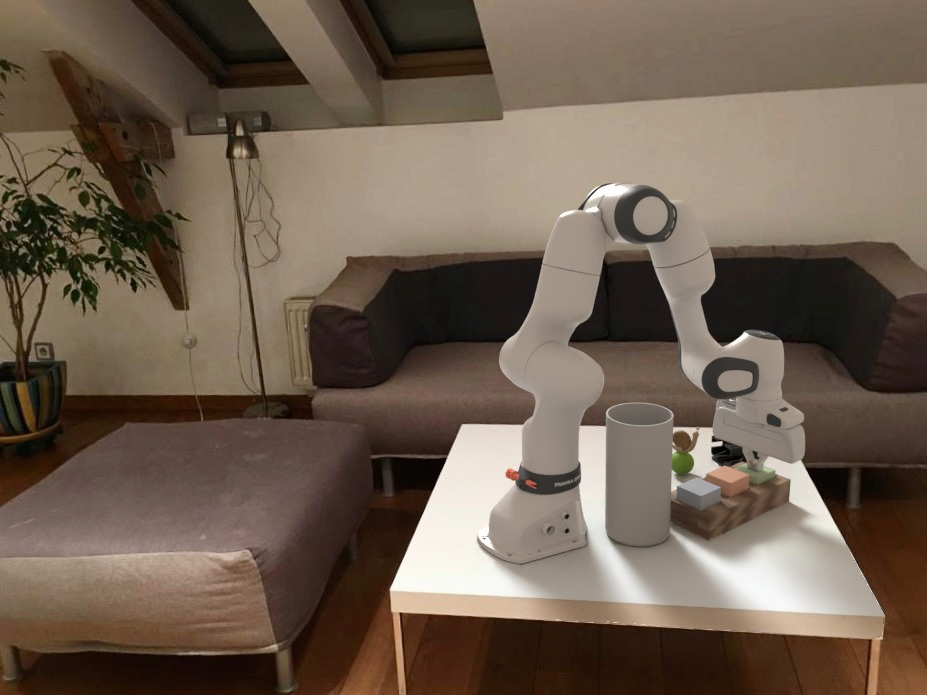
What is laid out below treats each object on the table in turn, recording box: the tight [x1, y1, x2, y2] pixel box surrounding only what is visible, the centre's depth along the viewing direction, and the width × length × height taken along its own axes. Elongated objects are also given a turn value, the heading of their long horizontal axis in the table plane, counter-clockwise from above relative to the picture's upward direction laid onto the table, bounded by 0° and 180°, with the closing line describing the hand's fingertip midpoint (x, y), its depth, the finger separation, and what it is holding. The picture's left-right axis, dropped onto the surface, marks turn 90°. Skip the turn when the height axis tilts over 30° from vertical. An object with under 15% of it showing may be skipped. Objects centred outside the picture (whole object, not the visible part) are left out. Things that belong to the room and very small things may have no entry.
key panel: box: [670, 462, 792, 542], centre depth 171 cm, size 26×12×5 cm, turn 125°
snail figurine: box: [672, 426, 700, 476], centre depth 187 cm, size 5×6×12 cm
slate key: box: [676, 477, 721, 511], centre depth 165 cm, size 6×6×4 cm
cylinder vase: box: [604, 402, 675, 548], centre depth 161 cm, size 12×12×25 cm
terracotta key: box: [705, 466, 749, 498], centre depth 170 cm, size 6×6×4 cm
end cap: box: [710, 435, 760, 467], centre depth 192 cm, size 10×7×7 cm
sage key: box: [734, 463, 777, 485], centre depth 176 cm, size 6×6×4 cm
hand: (754, 468), depth 175 cm, fingers closed, pressing on sage key
